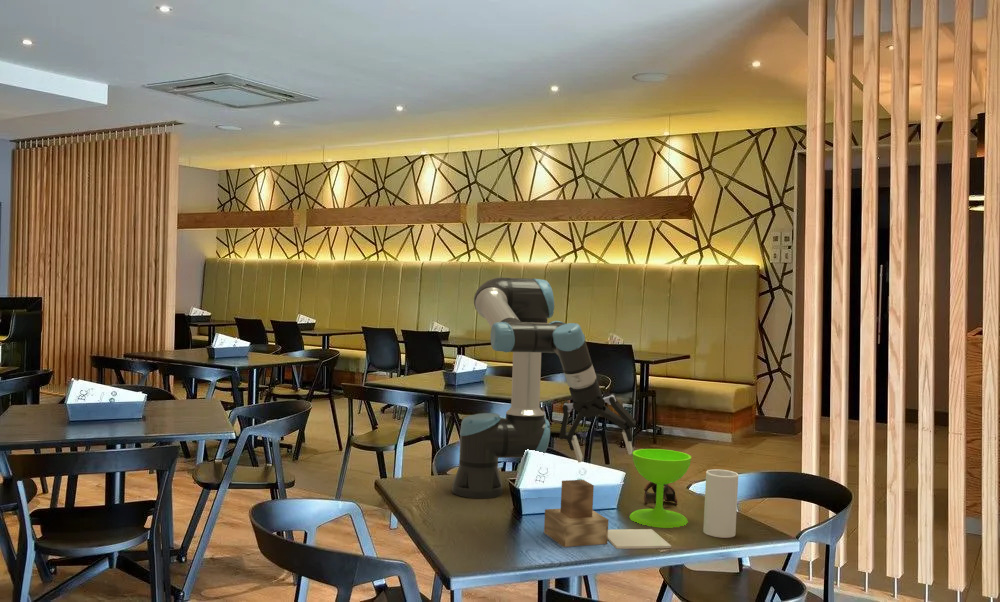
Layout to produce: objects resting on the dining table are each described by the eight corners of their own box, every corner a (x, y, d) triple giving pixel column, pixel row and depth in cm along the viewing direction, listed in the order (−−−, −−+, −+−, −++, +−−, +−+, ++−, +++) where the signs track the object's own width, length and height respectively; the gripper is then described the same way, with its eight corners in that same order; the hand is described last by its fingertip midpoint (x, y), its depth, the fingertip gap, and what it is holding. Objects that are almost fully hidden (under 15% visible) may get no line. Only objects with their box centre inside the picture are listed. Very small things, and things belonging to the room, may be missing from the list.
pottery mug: (684, 510, 256) (674, 487, 254) (654, 523, 256) (644, 500, 254) (672, 489, 268) (663, 467, 265) (643, 502, 268) (634, 480, 265)
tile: (616, 548, 215) (616, 546, 215) (600, 531, 229) (600, 529, 229) (671, 548, 217) (671, 545, 217) (651, 531, 231) (651, 529, 231)
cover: (563, 546, 215) (565, 489, 214) (543, 532, 226) (546, 478, 225) (607, 543, 219) (609, 487, 218) (586, 529, 230) (588, 476, 230)
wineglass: (617, 514, 246) (620, 450, 246) (663, 509, 254) (666, 447, 253) (653, 530, 232) (656, 462, 232) (700, 524, 240) (703, 458, 239)
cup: (737, 531, 235) (740, 471, 234) (733, 539, 227) (736, 477, 226) (705, 526, 238) (708, 468, 237) (700, 534, 230) (703, 473, 230)
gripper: (533, 397, 224) (557, 470, 230) (628, 380, 216) (650, 456, 221) (539, 385, 231) (562, 455, 236) (632, 367, 222) (653, 441, 228)
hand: (605, 456), depth 229 cm, fingers open, 13 cm apart
